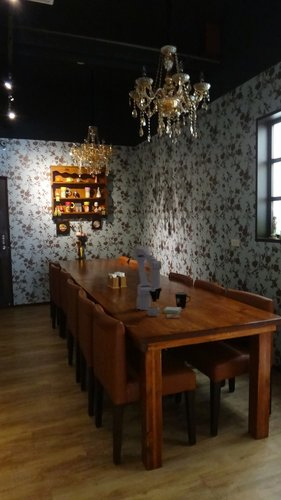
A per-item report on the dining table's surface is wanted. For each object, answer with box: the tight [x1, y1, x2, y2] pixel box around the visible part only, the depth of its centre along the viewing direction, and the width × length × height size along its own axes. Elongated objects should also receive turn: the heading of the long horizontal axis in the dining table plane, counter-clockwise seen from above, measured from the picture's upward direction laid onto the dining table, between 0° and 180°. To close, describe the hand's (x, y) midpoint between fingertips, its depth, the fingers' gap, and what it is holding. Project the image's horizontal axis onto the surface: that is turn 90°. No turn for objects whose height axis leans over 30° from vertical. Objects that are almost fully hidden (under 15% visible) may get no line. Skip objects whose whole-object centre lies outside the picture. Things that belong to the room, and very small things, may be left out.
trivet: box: [165, 313, 181, 320], centre depth 211 cm, size 8×8×1 cm
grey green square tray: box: [163, 306, 182, 315], centre depth 224 cm, size 10×10×2 cm
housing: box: [146, 306, 161, 317], centre depth 216 cm, size 7×4×5 cm, turn 72°
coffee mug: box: [174, 291, 192, 309], centre depth 235 cm, size 12×9×10 cm
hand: (155, 300), depth 216 cm, fingers open, 7 cm apart
